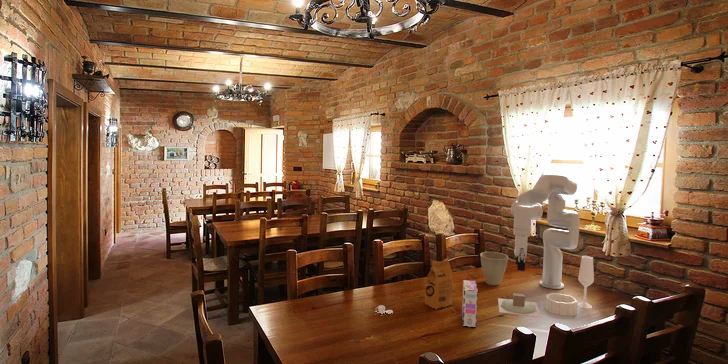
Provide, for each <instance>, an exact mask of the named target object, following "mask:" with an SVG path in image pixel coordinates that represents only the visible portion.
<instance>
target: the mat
mask: <svg viewBox="0 0 728 364" xmlns="http://www.w3.org/2000/svg"><path fill="white" fill-rule="evenodd" d="M504 300H509V298H499V297H498V298H497V303H498V313H503V314H510V315H520V316H530V317H536V318H537V317H539V318H541V317H542V316H541V315H542V314H541V312H540V309H539V305H538V303H537V302H535V301H527V302H530V303H532V304H533V305H535V307H536V309H535V311H534V312H532V313H515V312H511V311H508V310H506V309H504V308H503V307H502V302H503V301H504Z"/></svg>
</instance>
